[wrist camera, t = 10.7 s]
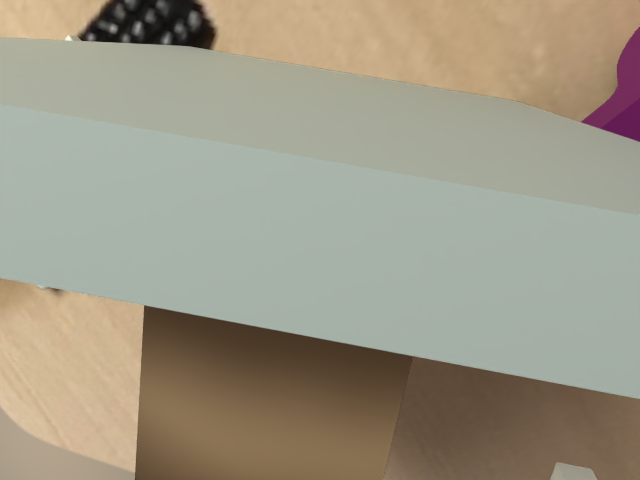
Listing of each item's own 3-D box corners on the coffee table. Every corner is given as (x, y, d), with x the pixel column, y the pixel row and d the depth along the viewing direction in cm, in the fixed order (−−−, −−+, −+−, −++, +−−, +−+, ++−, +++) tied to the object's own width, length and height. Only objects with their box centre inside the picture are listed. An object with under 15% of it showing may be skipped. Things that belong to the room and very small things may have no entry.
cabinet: (370, 371, 26) (365, 554, 16) (222, 343, 26) (133, 507, 17) (410, 183, 23) (432, 273, 13) (243, 154, 23) (149, 222, 14)
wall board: (454, 336, 32) (628, 993, 10) (170, 283, 33) (-281, 776, 10) (516, 100, 28) (1106, 297, 5) (188, 46, 29) (-531, 10, 6)
